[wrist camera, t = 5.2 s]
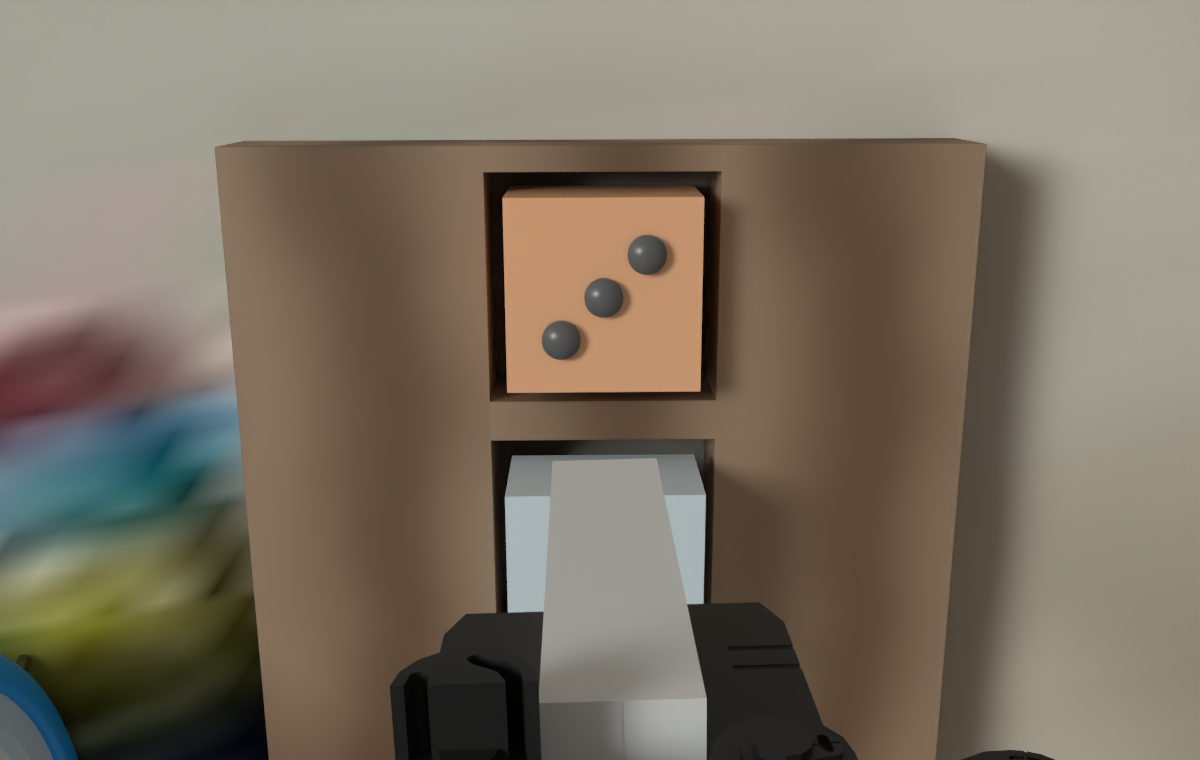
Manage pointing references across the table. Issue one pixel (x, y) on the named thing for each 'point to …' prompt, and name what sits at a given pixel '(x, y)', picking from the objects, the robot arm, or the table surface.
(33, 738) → the alarm clock
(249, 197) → the board
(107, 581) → the table surface
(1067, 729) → the table surface
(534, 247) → the tile
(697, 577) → the two-dot tile
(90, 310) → the table surface
